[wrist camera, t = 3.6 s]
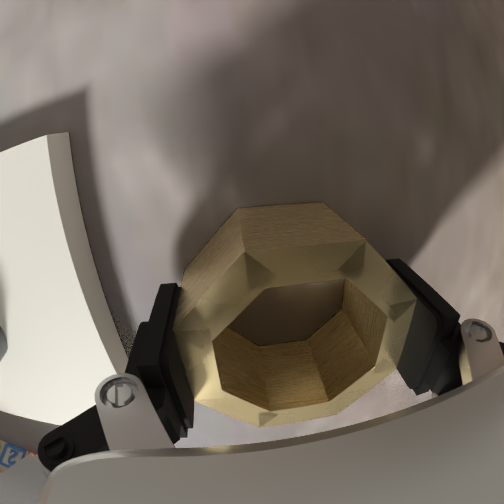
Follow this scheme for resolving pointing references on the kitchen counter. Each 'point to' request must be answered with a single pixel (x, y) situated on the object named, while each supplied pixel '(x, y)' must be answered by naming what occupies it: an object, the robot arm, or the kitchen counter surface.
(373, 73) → the kitchen counter surface
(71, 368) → the base
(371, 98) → the kitchen counter surface
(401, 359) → the robot arm
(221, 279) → the beige octagonal ring
